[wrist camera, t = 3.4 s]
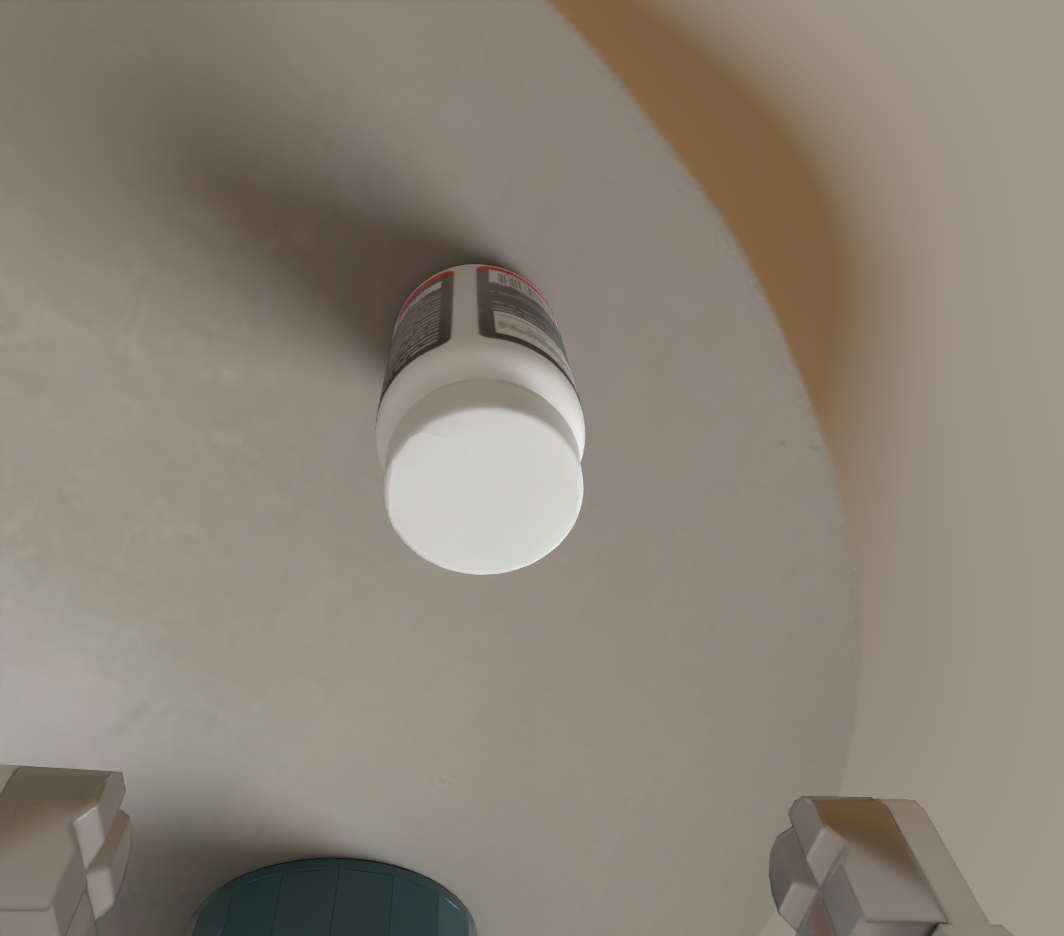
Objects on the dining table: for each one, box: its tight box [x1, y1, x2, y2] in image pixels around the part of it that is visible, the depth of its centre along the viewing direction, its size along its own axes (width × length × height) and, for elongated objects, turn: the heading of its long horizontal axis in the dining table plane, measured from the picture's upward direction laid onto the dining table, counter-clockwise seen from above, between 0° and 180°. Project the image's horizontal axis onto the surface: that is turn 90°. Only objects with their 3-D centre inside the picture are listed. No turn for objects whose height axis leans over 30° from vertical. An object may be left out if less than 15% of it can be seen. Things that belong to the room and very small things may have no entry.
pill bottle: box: [375, 264, 585, 574], centre depth 19 cm, size 5×5×8 cm
